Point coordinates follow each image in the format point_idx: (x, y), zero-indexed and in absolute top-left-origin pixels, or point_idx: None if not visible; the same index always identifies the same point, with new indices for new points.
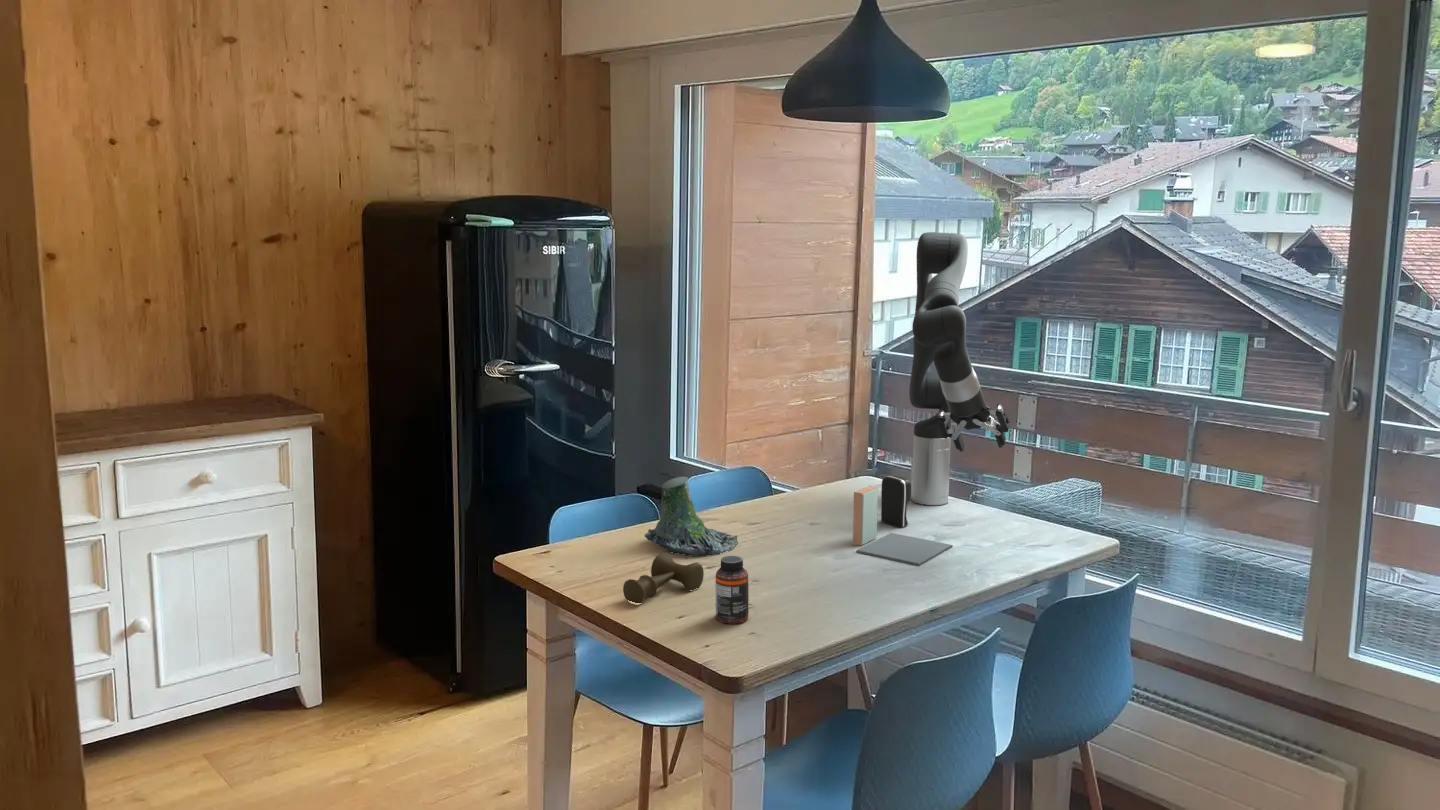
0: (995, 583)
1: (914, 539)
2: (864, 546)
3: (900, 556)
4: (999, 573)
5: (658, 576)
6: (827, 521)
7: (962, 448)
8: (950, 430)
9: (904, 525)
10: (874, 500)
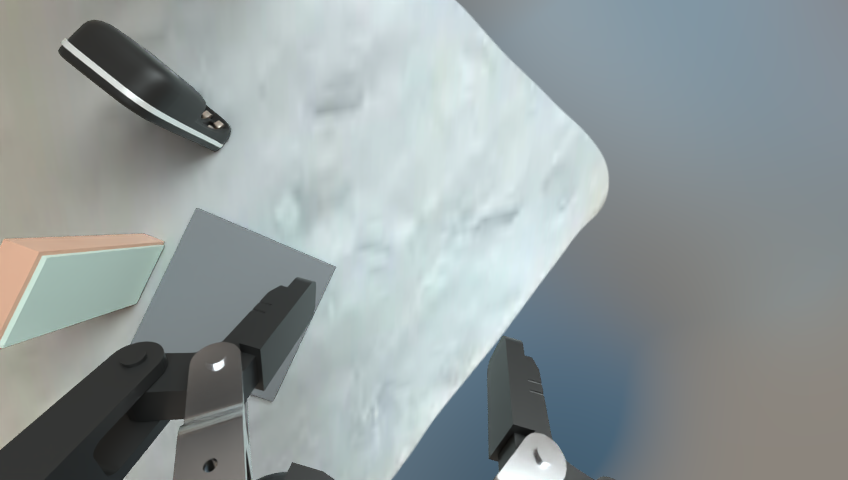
0: (409, 449)
1: (253, 248)
2: (142, 323)
3: None
4: (418, 396)
5: None
6: (13, 123)
7: (305, 324)
8: (168, 401)
9: (223, 143)
10: (73, 271)
